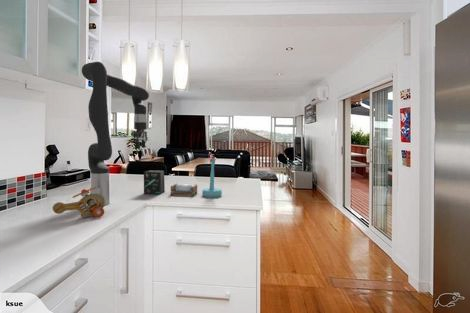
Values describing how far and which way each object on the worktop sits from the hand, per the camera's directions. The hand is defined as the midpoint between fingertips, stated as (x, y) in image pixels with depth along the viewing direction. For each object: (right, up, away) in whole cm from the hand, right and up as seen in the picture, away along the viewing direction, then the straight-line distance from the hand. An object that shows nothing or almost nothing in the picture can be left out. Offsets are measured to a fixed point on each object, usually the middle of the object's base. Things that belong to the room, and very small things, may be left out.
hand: (140, 148), depth 178 cm
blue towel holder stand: (+44, -31, +6) cm, 54 cm away
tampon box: (+5, -30, +11) cm, 32 cm away
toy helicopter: (-10, -33, -48) cm, 60 cm away
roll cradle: (+26, -30, +9) cm, 40 cm away
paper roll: (+26, -26, +8) cm, 38 cm away
